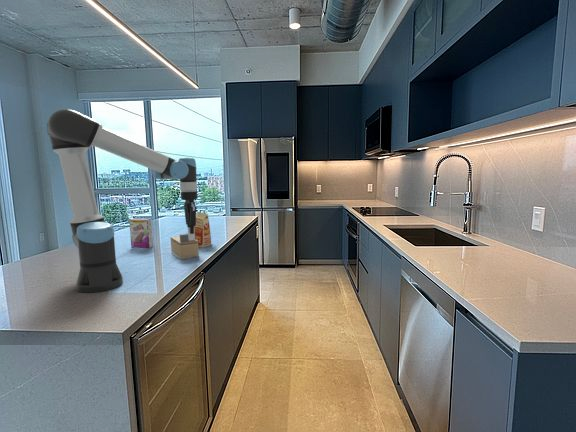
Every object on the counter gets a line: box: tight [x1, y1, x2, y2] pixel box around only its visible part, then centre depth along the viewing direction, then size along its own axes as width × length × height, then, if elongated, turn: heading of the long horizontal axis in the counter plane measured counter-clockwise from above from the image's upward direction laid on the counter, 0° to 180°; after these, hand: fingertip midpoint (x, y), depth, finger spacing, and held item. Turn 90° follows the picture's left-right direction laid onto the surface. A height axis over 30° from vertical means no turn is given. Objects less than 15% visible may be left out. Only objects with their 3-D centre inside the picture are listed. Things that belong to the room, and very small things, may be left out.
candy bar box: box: [129, 218, 154, 249], centre depth 186 cm, size 11×5×16 cm, turn 84°
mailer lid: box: [170, 232, 198, 245], centre depth 167 cm, size 9×18×5 cm, turn 34°
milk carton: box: [194, 210, 212, 248], centre depth 189 cm, size 9×9×20 cm
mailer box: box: [170, 238, 200, 260], centre depth 168 cm, size 9×18×7 cm, turn 34°
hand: (191, 240), depth 156 cm, fingers closed
